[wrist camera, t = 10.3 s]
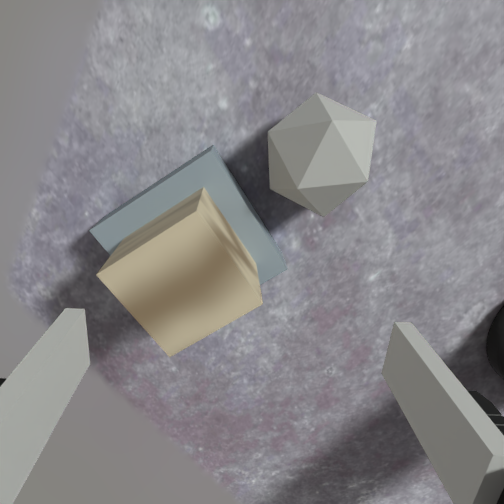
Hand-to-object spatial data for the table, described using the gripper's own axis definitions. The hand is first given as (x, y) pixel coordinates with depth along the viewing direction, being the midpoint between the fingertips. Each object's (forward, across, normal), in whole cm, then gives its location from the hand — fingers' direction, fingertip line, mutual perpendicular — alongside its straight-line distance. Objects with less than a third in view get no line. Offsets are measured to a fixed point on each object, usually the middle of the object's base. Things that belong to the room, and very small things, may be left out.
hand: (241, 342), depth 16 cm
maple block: (+16, +4, +2) cm, 17 cm away
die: (+20, -6, -6) cm, 22 cm away
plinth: (+20, +4, +2) cm, 21 cm away
